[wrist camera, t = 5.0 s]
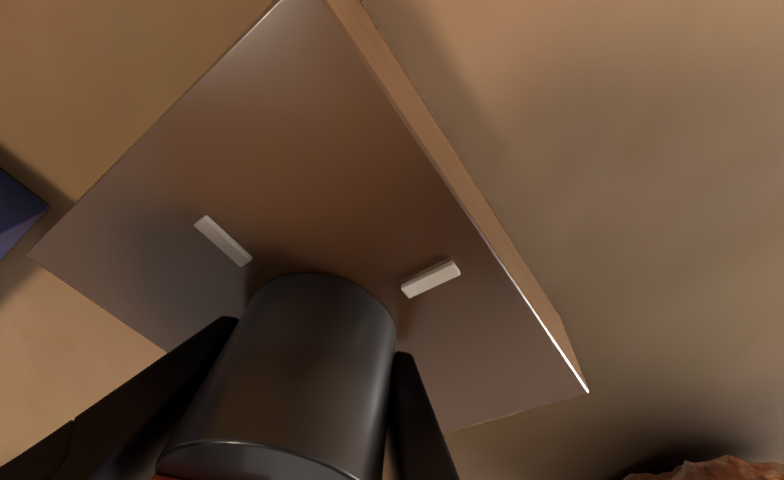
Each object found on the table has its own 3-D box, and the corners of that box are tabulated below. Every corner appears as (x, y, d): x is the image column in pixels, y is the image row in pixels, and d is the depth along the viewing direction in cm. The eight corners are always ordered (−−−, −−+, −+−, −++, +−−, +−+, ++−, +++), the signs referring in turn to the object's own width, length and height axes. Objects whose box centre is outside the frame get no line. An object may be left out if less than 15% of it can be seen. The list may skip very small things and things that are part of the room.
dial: (412, 293, 9) (401, 496, 5) (380, 388, 11) (355, 575, 7) (247, 255, 9) (118, 441, 5) (248, 359, 11) (159, 539, 7)
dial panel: (560, 316, 13) (593, 399, 10) (344, 395, 17) (328, 470, 14) (343, -24, 8) (301, -33, 5) (108, 200, 12) (17, 259, 9)
